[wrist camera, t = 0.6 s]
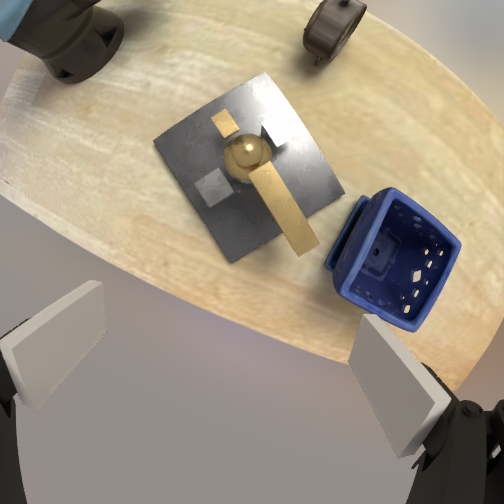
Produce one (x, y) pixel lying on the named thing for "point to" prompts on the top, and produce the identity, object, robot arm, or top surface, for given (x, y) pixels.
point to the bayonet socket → (238, 191)
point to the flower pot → (392, 258)
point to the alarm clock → (332, 27)
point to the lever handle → (265, 182)
